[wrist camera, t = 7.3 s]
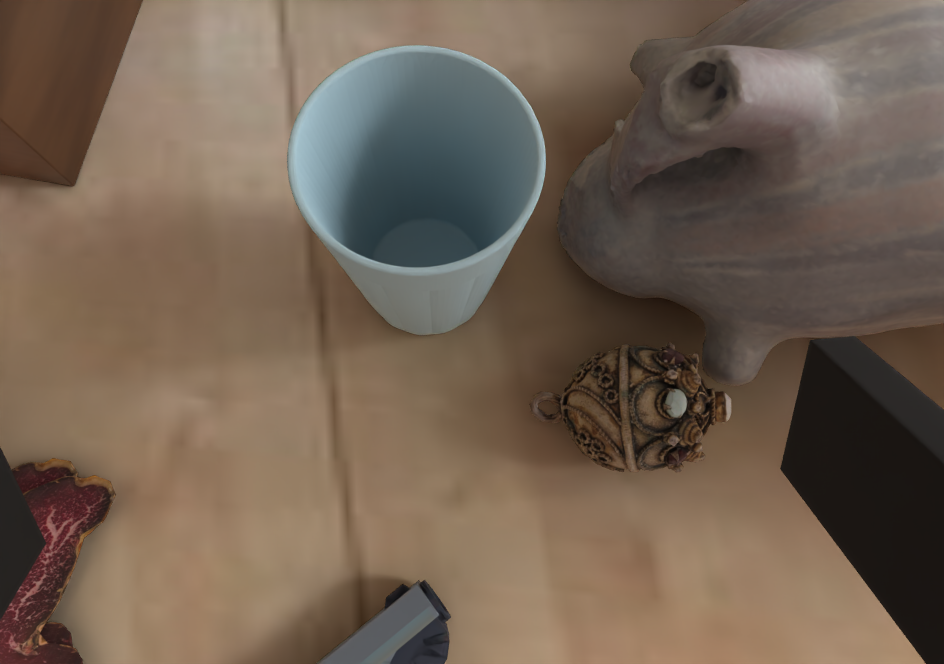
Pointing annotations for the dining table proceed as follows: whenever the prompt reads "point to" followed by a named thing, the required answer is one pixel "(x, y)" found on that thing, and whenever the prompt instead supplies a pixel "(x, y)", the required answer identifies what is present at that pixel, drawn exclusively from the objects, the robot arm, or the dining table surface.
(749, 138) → the piggy bank
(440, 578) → the dining table surface
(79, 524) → the cured meat
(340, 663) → the handgun
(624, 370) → the pendant
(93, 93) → the stand
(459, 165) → the cup
